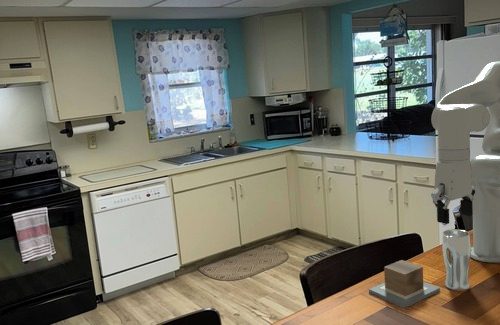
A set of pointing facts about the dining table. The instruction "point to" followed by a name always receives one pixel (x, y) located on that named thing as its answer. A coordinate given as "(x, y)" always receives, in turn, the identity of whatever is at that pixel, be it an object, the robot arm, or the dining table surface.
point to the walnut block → (403, 277)
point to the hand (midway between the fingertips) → (455, 218)
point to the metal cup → (456, 258)
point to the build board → (401, 299)
